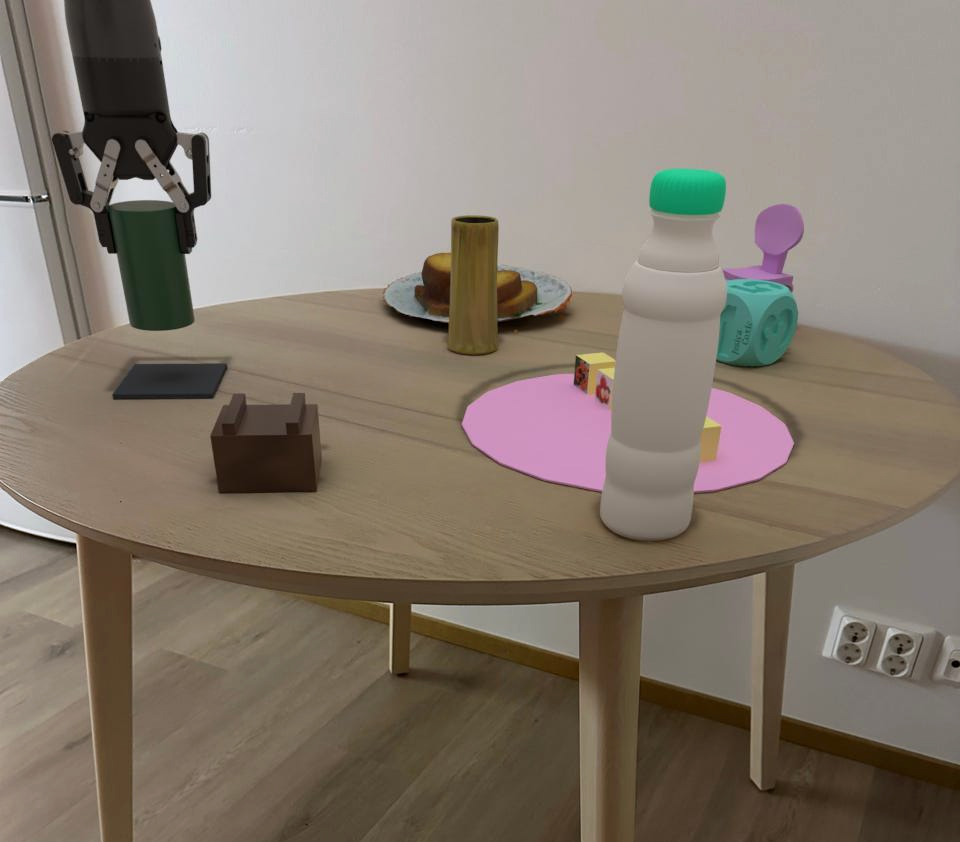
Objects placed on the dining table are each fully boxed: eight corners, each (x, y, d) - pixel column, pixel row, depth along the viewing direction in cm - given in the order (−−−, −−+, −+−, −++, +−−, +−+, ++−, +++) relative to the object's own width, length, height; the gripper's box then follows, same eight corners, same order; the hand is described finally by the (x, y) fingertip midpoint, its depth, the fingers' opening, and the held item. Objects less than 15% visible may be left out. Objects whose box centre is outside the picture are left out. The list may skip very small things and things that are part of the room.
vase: (506, 345, 112) (510, 217, 104) (485, 358, 107) (488, 226, 99) (460, 337, 114) (462, 212, 106) (438, 350, 109) (438, 220, 101)
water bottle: (580, 520, 73) (611, 168, 59) (640, 496, 77) (682, 161, 63) (647, 553, 69) (698, 182, 55) (707, 527, 72) (769, 174, 58)
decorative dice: (694, 353, 111) (704, 284, 106) (737, 343, 115) (749, 275, 110) (747, 371, 105) (760, 298, 101) (790, 359, 109) (805, 289, 105)
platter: (680, 362, 108) (684, 333, 106) (867, 467, 83) (877, 431, 81) (419, 390, 98) (418, 358, 96) (543, 518, 73) (546, 478, 71)
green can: (137, 314, 97) (123, 331, 92) (116, 199, 91) (100, 211, 86) (199, 314, 98) (188, 331, 92) (183, 200, 91) (170, 211, 86)
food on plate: (606, 320, 122) (611, 268, 118) (439, 345, 111) (439, 289, 108) (506, 279, 140) (508, 232, 136) (355, 297, 130) (352, 247, 126)
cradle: (218, 493, 76) (208, 423, 72) (230, 459, 82) (221, 393, 78) (316, 491, 76) (310, 422, 73) (321, 458, 82) (316, 392, 79)
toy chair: (700, 327, 120) (719, 201, 112) (754, 321, 123) (777, 198, 115) (740, 345, 114) (764, 213, 105) (796, 338, 117) (823, 209, 109)
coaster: (113, 399, 94) (112, 394, 93) (135, 368, 102) (134, 363, 102) (213, 398, 95) (212, 393, 94) (227, 367, 103) (226, 363, 102)
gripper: (18, 51, 78) (65, 260, 87) (191, 54, 79) (219, 260, 88) (46, 49, 84) (86, 244, 93) (206, 52, 85) (230, 244, 95)
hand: (151, 251), depth 91 cm, fingers closed on green can, 6 cm apart
